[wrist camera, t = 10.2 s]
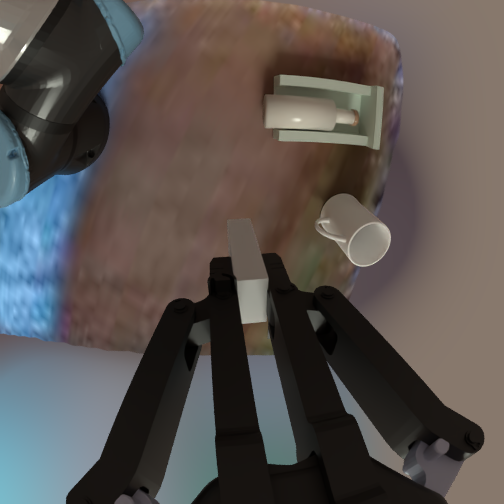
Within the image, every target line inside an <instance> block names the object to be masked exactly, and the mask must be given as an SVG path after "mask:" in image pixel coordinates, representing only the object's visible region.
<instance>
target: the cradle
mask: <svg viewBox="0 0 504 504" xmlns="http://www.w3.org/2000/svg"><path fill="white" fill-rule="evenodd" d="M383 92H384V87H379V86H366V85H361V84H355V83H350V82H344V81H337V80H331V79H323V78H315V77H305V76H294V75H278V76H274V95H293V96H306V97H317V98H326V99H332V100H333V101H334V102H335V105H336V108H339V109H347V110H350V109H355V110H357V111H358V114H359V122H358V124H357V125H356V126H351V125H349V124H342V123H336V124H335V126H334V128H333V130H331V131H324V130H309V129H285V128H273V138H274V139H277V140H278V141H304V142H325V143H340V144H352V145H363V146H367V147H369V148H372V149H378V150H379V146H380V136H381V125H382V111H383Z"/></svg>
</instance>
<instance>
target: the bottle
mask: <svg viewBox="0 0 504 504" xmlns="http://www.w3.org/2000/svg"><path fill="white" fill-rule="evenodd" d="M358 122H359V114H358V111H357V110H355V109H350V110H347V109H339V108H336V105H335V102H334V101H333V100H332V99H326V98H317V97H306V96H293V95H272V94H265V96H264V99H263V124H264V127H265V128H285V129H309V130H324V131H331V130H333V128H334V126H335V124H336V123H342V124H349V125H351V126H356V125H357V124H358Z"/></svg>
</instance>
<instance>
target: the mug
mask: <svg viewBox="0 0 504 504" xmlns="http://www.w3.org/2000/svg"><path fill="white" fill-rule="evenodd" d="M319 223H321V224H322V226H323V228H324V229H325V230H326V231H325V230H323V229H322V228H320V227H319V225H318V224H319ZM315 228H316V230H317V231H318V232H319V233H321V234H322V235H324V236H326V237H328V238H330V239H333V240H335V241H336V242H337V244H338V245H339V246H340V247H341V249H342V250H343V251H344V253H345V254H346V255H347V257H348V258H349V259H350V261H351V262H352V263H354V264H355V265H357V266H369V265H372V264H374V263H376V262H377V261H378V260H380V259H381V258H382V257H383V256H384V255H385V253H386V252H387V250H388V248H389V245H390V241H391V235H390V231H389V229H388V227H387V226H386V225H384V223H383V222H381V221H380V220H379V219H378V218H377V217H376V216H374V215H373V214H372V213H371V212H370V211H369V210H367V209H366V208H365V207H364V206H363V205H361V204H360V203H359V202H358V200H357V199H356V198H355V197H354V196H352V195H350V194H345V193H343V194H337V195H335V196H333V197H331V198H330V199H329V200H328V201H327V202H326V203H325V204H324V206H323V208H322V211H321V215H320V218H319V219H317V220H316V222H315Z"/></svg>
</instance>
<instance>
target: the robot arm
mask: <svg viewBox="0 0 504 504" xmlns="http://www.w3.org/2000/svg"><path fill="white" fill-rule="evenodd" d="M143 35H144V30H143V26H142V24H141V22H140V20H139V19H138V17H137V16H136V15H135V13H134V12H133V11H132V10H131V9H130V7H129V6H128V5H127V4H126V3H125V2H124V1H123V0H0V84H3V86H2V88H1V90H0V208H4V207H7V206H9V205H11V204H13V203H14V202H16V201H20V200H21V199H22V198H23V197H25V195H26V194H27V193H29V192H30V191H32V190H33V189H35V188H36V187H38V186H39V185H40V184H42V183H43V182H45V181H47V180H48V179H50V178H51V177H53V176H54V175H70V174H75V173H78V172H80V171H82V170H84V169H85V168H87V167H88V166H90V165H91V164H92V163H94V162H95V161H96V159H97V158H98V157H99V156H100V154H101V153H102V151H103V149H104V147H105V145H106V142H107V139H108V135H109V116H108V111H107V109H106V106H105V104H104V102H103V101H102V99H101V98H100V97H99V96H98V95H97V94H98V93H99V91H100V90H101V89H102V87H103V86H104V85H105V84H106V82H107V81H108V80H109V79H110V77H111V76H112V75H113V74H114V73H115V71H116V70H117V69H118V68H119V67H120V66H123V65H124V64H125V62H126V59H127V58H128V57H129V55H130V54H131V53H132V52H133V51H134V50H135V49H136V47H137V46H138V45H139V44H140V43H141V41H142V39H143ZM227 227H228V248H229V257H217V258H213V259H212V261H211V262H210V277H209V278H208V290H209V295H208V296H207V297H206V298H205V299H204V300H202V301H199V302H196V303H193V302H192V301H191V300H189V299H185V298H179V299H176V300H173V301H172V302H170V303H169V304H168V305H167V307H166V309H165V311H164V313H163V315H162V317H161V319H160V321H159V323H158V325H157V327H156V329H155V332H154V334H153V336H152V338H151V340H150V342H149V344H148V346H147V348H146V351H145V353H144V355H143V357H142V359H141V361H140V364H139V366H138V368H137V370H136V372H135V375H134V377H133V379H132V381H131V384H130V386H129V389H128V391H127V393H126V395H125V397H124V400H123V402H122V405H121V407H120V409H119V412H118V414H117V416H116V419H115V422H114V424H113V426H112V429H111V431H110V434H109V436H108V439H107V442H106V444H105V447H104V449H103V452H102V454H101V457H100V459H99V460H98V461H97V462H96V464H95V465H94V466H93V467H92V468H91V469H90V470H89V471H88V472H87V473H86V474H85V475H84V477H83V478H82V479H81V480H80V481H79V482H78V483H77V484H76V485H75V486H74V487H73V488H72V490H71V491H70V492H69V493H68V495H67V497H66V504H159V503H158V501H157V500H155V499H154V498H155V497H156V495H157V493H158V491H159V489H160V487H161V484H162V481H163V479H164V475H165V472H166V468H167V465H168V460H169V457H170V453H171V450H172V446H173V443H174V439H175V436H176V432H177V429H178V425H179V422H180V418H181V415H182V411H183V408H184V405H185V401H186V398H187V394H188V391H189V388H190V384H191V381H192V378H193V374H194V371H195V367H196V364H197V361H198V358H199V354H200V351H201V348H202V344H205V343H208V342H211V365H212V383H213V400H214V415H215V427H216V436H215V445H216V458H217V467H218V477H217V478H215V479H214V480H212V481H211V482H209V483H208V484H207V485H206V486H205V487H204V488H203V490H202V491H201V492H200V493H199V495H198V496H197V497H196V498H195V500H194V501H193V502H192V503H191V504H448V503H447V501H446V500H445V498H444V497H445V496H446V494H447V492H448V490H449V488H450V487H451V485H452V483H453V481H454V480H455V477H456V476H457V474H458V472H459V470H460V468H461V466H462V464H463V462H464V461H465V460H466V459H467V458H469V457H470V456H472V455H473V454H475V453H476V452H477V451H479V450H480V449H481V447H482V445H483V444H484V432H483V431H482V429H481V427H480V426H478V425H477V424H475V423H474V422H472V421H470V420H469V419H467V418H465V417H463V416H462V415H460V414H458V413H457V412H455V411H453V410H451V409H450V408H448V407H446V406H445V405H444V404H443V403H442V402H441V401H440V400H439V398H438V397H437V396H436V395H435V394H434V393H433V392H432V391H431V389H430V388H429V387H428V386H427V385H426V384H425V382H424V381H423V380H422V379H421V378H420V377H419V376H418V375H417V374H416V372H415V371H414V370H413V369H412V368H411V367H410V366H409V365H408V364H407V363H406V361H405V360H404V359H403V358H402V357H401V356H400V355H399V354H398V353H397V352H396V350H395V349H394V348H393V347H392V346H391V345H390V344H389V343H388V342H387V341H386V340H385V339H384V338H383V336H382V335H381V334H380V333H379V332H378V331H377V330H376V329H375V328H374V327H373V326H372V325H371V324H370V323H369V321H368V320H367V319H365V317H364V316H363V315H362V314H361V313H360V312H359V311H358V310H357V309H356V308H355V307H354V306H353V305H352V304H351V303H350V302H349V301H348V300H347V299H346V298H345V297H344V295H343V294H342V293H341V292H340V291H339V290H337V289H336V288H334V287H331V286H320V287H318V288H316V289H315V291H314V293H310V292H303V291H300V290H298V288H297V287H296V286H295V285H294V284H293V283H291V282H290V279H289V277H288V274H287V272H286V269H285V267H284V265H283V262H282V260H281V257H280V256H278V255H277V254H276V253H266V254H261V252H260V249H259V245H258V242H257V239H256V236H255V232H254V229H253V226H252V222H251V219H250V218H249V219H232V220H227ZM267 317H268V321H269V323H268V339H270V338H271V343H272V347H273V351H274V355H275V359H276V364H277V368H278V372H279V376H280V380H281V384H282V388H283V393H284V397H285V401H286V405H287V409H288V414H289V418H290V422H291V426H292V430H293V434H294V438H295V443H296V449H297V450H296V453H297V462H298V463H296V464H293V465H275V464H267V459H266V454H265V449H264V443H263V439H262V434H261V432H260V429H259V425H258V418H257V413H256V407H255V401H254V395H253V389H252V383H251V377H250V371H249V365H248V359H247V352H246V346H245V339H244V333H243V326H242V324H244V323H255V322H266V321H267ZM327 362H328V363H329V365H330V366H331V367H332V369H333V370H334V371H335V373H336V374H337V376H338V377H339V378H340V380H341V381H342V382H343V384H344V385H345V387H346V388H347V389H348V391H349V392H350V393H351V395H352V396H353V398H354V399H355V400H356V402H357V403H358V404H359V406H360V407H361V408H362V410H363V411H364V413H365V414H366V415H367V416H368V418H369V419H370V421H371V422H372V423H373V425H374V426H375V428H376V429H377V430H378V432H379V433H380V434H381V436H382V437H383V438H384V440H385V441H386V442H387V443H388V445H389V446H390V447H391V448H392V450H394V451H395V452H396V453H397V454H398V455H399V456H400V457H401V458H403V459H404V465H403V472H404V473H405V474H409V475H410V477H411V478H412V480H411V479H409V478H407V477H405V476H403V475H401V474H400V473H398V472H396V471H394V470H392V469H391V468H389V467H387V466H385V465H384V464H382V463H380V462H379V461H377V460H375V459H374V458H372V457H370V456H369V453H368V450H367V448H366V445H365V442H364V439H363V436H362V434H361V431H360V429H359V426H358V423H357V421H356V419H355V417H354V416H353V415H351V414H348V413H347V412H346V411H345V408H344V406H343V403H342V401H341V398H340V395H339V392H338V390H337V387H336V384H335V382H334V379H333V376H332V374H331V371H330V369H329V366H328V363H327Z"/></svg>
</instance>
